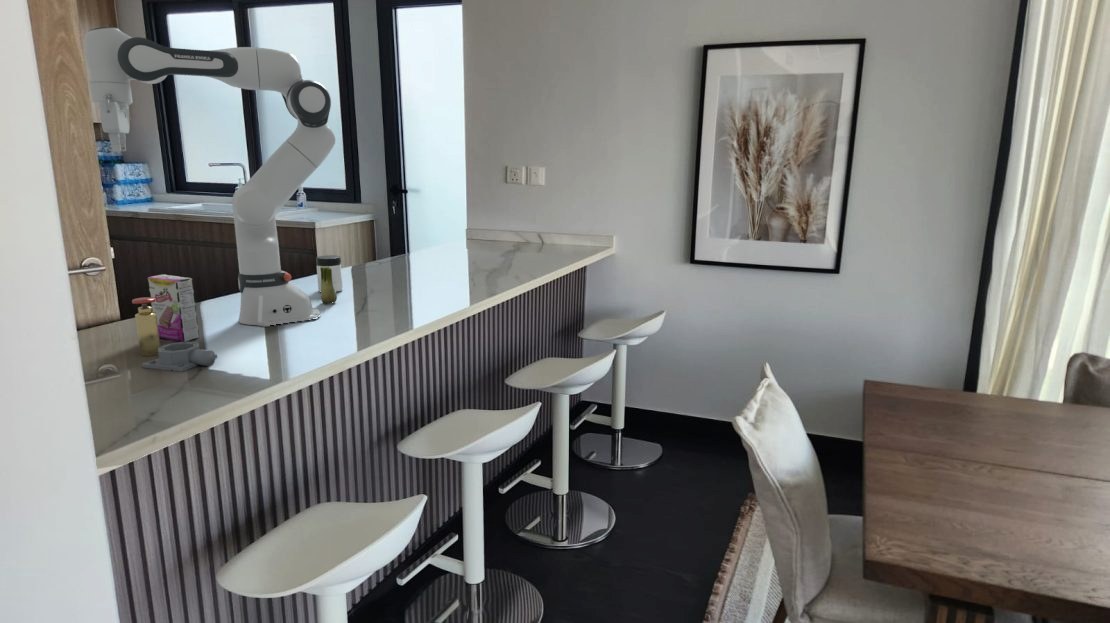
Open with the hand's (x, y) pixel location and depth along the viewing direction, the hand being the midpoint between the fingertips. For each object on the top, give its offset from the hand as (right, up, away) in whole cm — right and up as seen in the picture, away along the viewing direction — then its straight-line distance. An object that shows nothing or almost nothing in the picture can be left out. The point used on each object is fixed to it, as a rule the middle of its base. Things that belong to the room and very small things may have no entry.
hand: (119, 151), depth 177 cm
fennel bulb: (+39, -39, +45) cm, 72 cm away
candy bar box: (+13, -49, +4) cm, 50 cm away
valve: (+14, -52, -9) cm, 54 cm away
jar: (+34, -34, +64) cm, 80 cm away
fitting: (+26, -54, -16) cm, 62 cm away
